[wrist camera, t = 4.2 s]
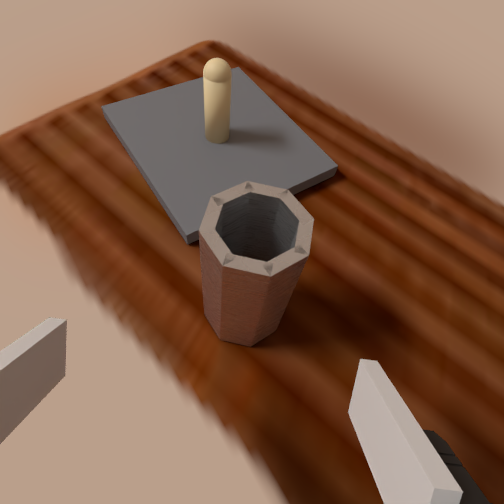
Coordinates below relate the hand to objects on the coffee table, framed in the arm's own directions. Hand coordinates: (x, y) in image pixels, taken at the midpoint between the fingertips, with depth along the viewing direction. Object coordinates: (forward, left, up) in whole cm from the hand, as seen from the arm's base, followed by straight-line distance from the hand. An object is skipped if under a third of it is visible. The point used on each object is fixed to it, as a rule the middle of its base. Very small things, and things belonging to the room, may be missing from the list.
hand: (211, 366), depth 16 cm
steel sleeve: (+5, -6, -12) cm, 14 cm away
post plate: (+23, -14, -12) cm, 29 cm away
